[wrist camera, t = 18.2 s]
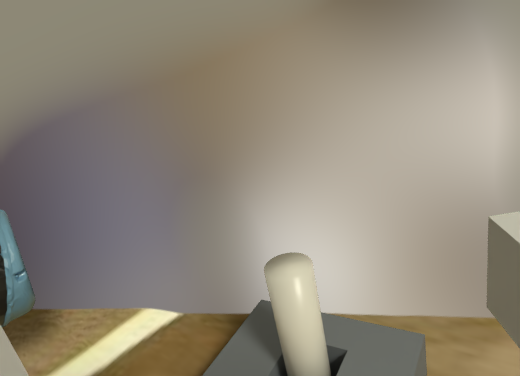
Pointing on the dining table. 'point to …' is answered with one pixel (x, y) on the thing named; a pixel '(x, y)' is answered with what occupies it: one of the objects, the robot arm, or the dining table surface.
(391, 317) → the dining table surface
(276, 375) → the hole block
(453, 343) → the dining table surface
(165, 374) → the dining table surface
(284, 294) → the pin
